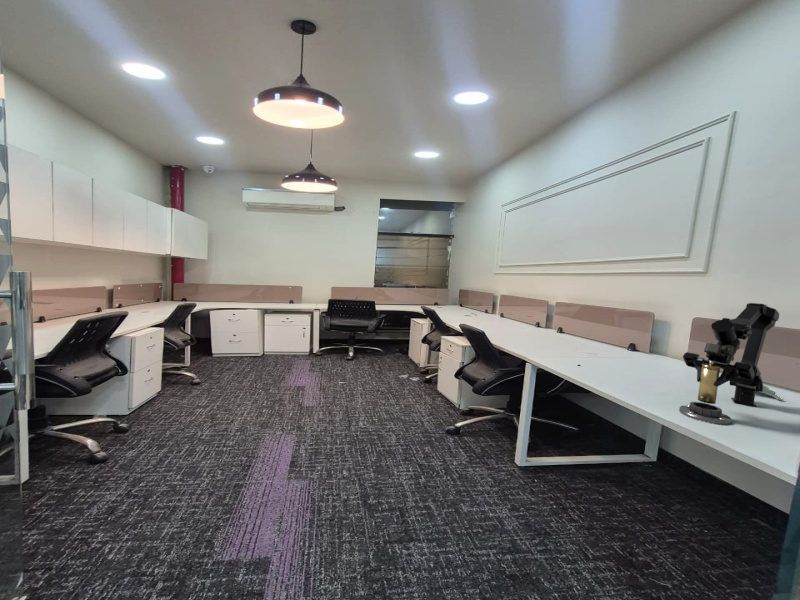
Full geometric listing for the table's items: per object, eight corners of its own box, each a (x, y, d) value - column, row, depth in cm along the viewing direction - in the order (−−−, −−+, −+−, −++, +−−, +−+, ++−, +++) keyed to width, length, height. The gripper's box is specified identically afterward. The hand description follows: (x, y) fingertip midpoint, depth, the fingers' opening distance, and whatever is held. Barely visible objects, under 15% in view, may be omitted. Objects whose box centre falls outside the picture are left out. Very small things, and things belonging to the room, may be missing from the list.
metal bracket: (748, 382, 150) (737, 374, 163) (741, 394, 151) (730, 385, 164) (792, 399, 143) (777, 389, 156) (785, 411, 145) (770, 401, 158)
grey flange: (677, 405, 134) (678, 396, 134) (727, 415, 126) (728, 405, 126) (680, 416, 123) (681, 406, 123) (735, 428, 115) (736, 418, 115)
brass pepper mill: (694, 398, 127) (699, 358, 126) (710, 399, 126) (715, 359, 125) (702, 402, 122) (707, 361, 121) (718, 404, 121) (724, 363, 120)
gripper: (688, 330, 132) (669, 362, 128) (755, 340, 116) (736, 377, 112) (696, 349, 137) (678, 380, 132) (762, 362, 120) (744, 397, 116)
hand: (706, 383), depth 123 cm, fingers closed on brass pepper mill, 5 cm apart
